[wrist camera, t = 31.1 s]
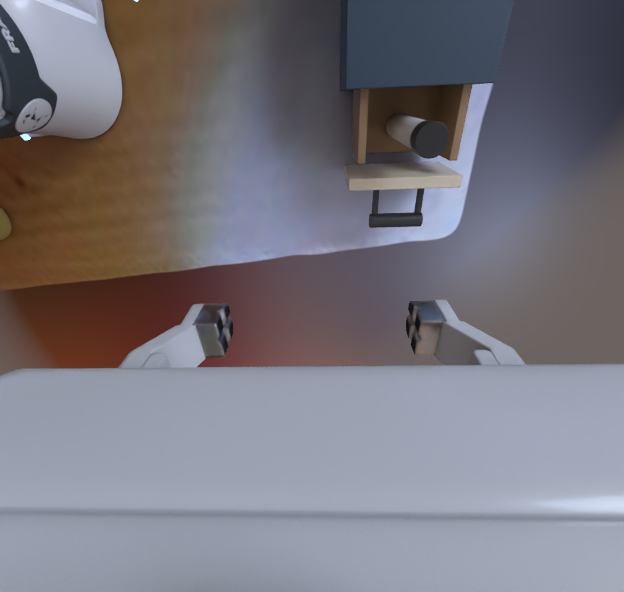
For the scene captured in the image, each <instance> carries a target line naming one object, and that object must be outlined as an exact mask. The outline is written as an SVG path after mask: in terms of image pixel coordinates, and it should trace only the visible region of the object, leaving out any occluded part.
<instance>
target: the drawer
mask: <svg viewBox="0 0 624 592" xmlns="http://www.w3.org/2000/svg"><path fill="white" fill-rule="evenodd" d="M471 88H472V84H459V85H437V86H416V87H394V88H372V89H353V119H352V154H353V156H354V158H355V160H356V162H357V164H356V165H344V175H345V179H346V182H347V186H348V189H349V191H359V190H373V202H372V214H370V215H369V227H370V228H373V227H411V226H421V225H422V220H423V216H422V213H421V207H422V200H423V194H424V188H453V187H460V186H461V181H462V177H463V175H461V174H459V173H457V172H456V171H454V170H452V169H450V168H449V167H447V166H445V165H443V164H442V163H440V162H412V163H384V164H364V163H365V155H366V153H387V152H414V151H413V150H412V149H411V148H409V147H407V146H406V145H404V144H402V143H401V142H399V141H397V140H396V139H394V138H392V137H391V136H389V135H388V133H387V131H386V124H387V121H388V120H389V118H390V117H391V116H393V115H395V114H402V115H407V116H411V117H415V118H419V119H423V120H434V121H439V122H442V123H443V124H445V125H446V127H447V128H448V131H449V142H448V145H447V147H446V148H445V150H444V151H443V152H442V153H441V154H440V156H442V157H444V158H446V159H448V160H450V161H451V160H457V157H458V152H459V148H460V143H461V138H462V133H463V128H464V123H465V118H466V113H467V108H468V103H469V98H470V93H471ZM390 189H418V190H417V197H416V204H415V211H414V212H415V213H382V214H377V213H378V200H379V190H390Z"/></svg>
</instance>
